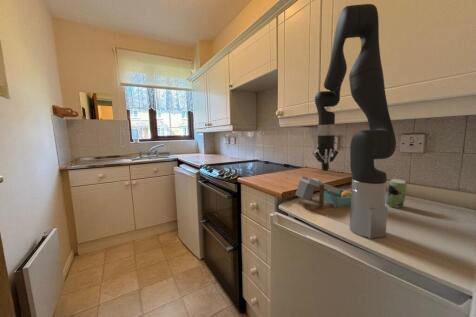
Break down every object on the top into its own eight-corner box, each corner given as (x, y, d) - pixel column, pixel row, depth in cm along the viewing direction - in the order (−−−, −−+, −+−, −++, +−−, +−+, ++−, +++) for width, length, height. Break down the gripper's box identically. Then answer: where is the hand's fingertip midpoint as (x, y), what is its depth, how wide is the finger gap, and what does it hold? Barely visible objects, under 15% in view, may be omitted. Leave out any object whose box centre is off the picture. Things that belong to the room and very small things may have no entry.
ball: (345, 201, 92) (352, 199, 93) (345, 193, 92) (352, 191, 93) (339, 198, 96) (346, 197, 97) (338, 190, 96) (345, 189, 97)
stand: (309, 210, 85) (310, 186, 84) (297, 202, 95) (298, 181, 93) (334, 207, 88) (335, 184, 86) (319, 199, 97) (320, 179, 96)
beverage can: (396, 203, 90) (399, 177, 88) (409, 210, 83) (411, 181, 81) (382, 203, 91) (383, 177, 89) (392, 209, 83) (395, 181, 82)
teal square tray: (360, 204, 90) (361, 196, 89) (338, 207, 87) (339, 198, 87) (341, 196, 101) (342, 189, 101) (321, 199, 98) (322, 191, 98)
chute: (302, 198, 85) (311, 176, 85) (289, 191, 96) (297, 171, 96) (334, 208, 90) (342, 187, 89) (318, 200, 101) (325, 182, 100)
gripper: (318, 134, 89) (317, 172, 91) (343, 134, 92) (342, 171, 94) (309, 135, 97) (308, 170, 99) (332, 134, 100) (331, 168, 102)
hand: (325, 170), depth 97 cm, fingers closed
